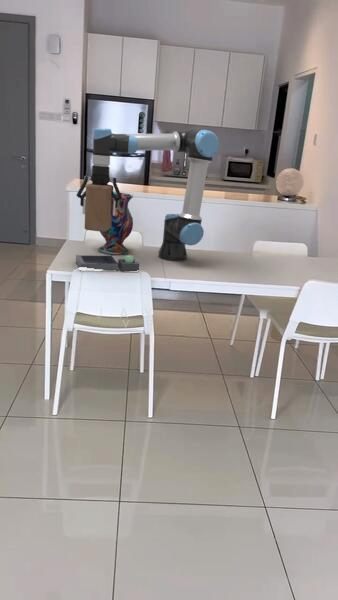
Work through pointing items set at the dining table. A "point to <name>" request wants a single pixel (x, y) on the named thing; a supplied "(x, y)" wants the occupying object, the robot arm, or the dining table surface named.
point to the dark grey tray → (97, 262)
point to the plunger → (128, 259)
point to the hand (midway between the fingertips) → (98, 214)
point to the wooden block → (98, 207)
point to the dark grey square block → (128, 265)
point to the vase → (118, 227)
